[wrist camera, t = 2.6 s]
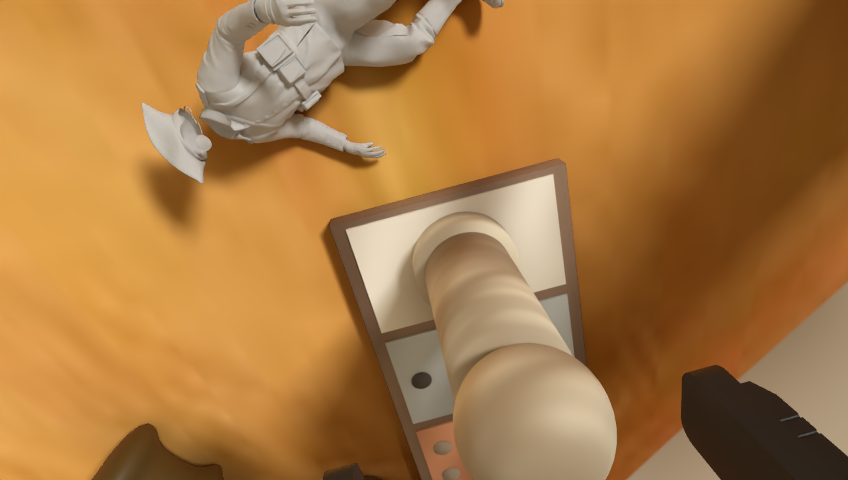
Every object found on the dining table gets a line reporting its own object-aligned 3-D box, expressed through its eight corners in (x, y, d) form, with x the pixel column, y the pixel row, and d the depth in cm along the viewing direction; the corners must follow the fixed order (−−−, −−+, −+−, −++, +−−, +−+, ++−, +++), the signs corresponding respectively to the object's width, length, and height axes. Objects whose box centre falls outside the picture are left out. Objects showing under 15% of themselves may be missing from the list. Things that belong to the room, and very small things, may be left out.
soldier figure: (507, 63, 19) (285, 267, 17) (426, 6, 20) (217, 188, 19) (512, -151, 11) (129, 171, 10) (385, -212, 13) (41, 56, 12)
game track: (558, 158, 19) (567, 164, 19) (589, 444, 27) (597, 458, 26) (330, 219, 19) (329, 228, 19) (427, 488, 27) (429, 504, 26)
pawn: (503, 199, 19) (660, 395, 9) (518, 287, 21) (661, 530, 11) (400, 227, 19) (441, 454, 9) (425, 312, 21) (481, 579, 11)
